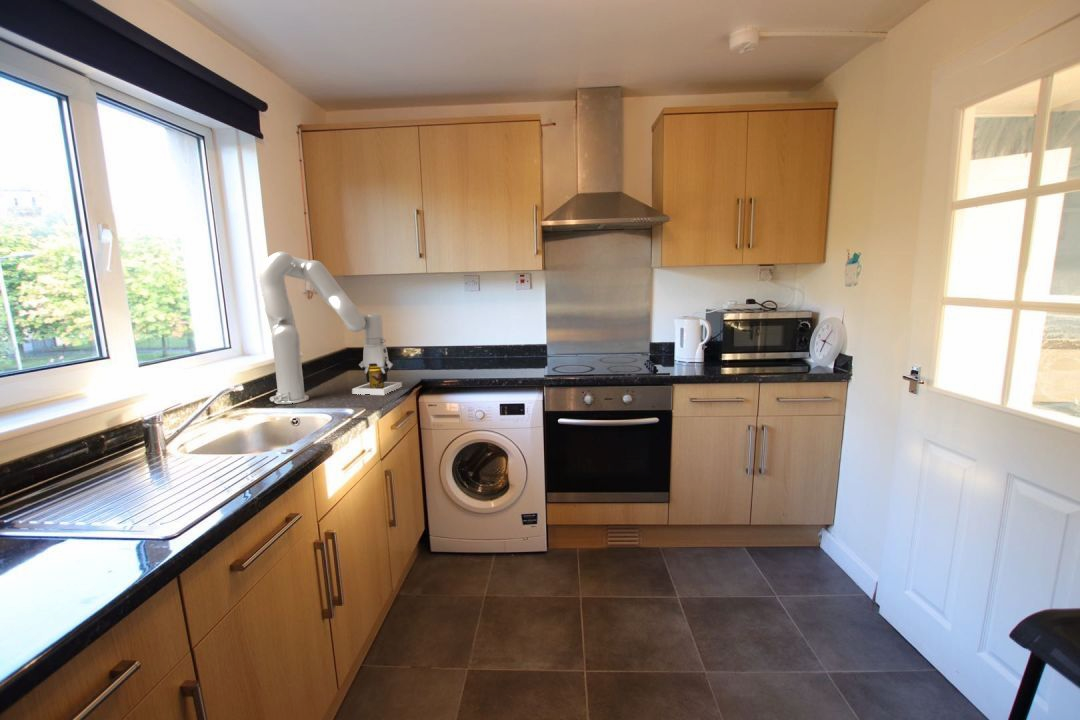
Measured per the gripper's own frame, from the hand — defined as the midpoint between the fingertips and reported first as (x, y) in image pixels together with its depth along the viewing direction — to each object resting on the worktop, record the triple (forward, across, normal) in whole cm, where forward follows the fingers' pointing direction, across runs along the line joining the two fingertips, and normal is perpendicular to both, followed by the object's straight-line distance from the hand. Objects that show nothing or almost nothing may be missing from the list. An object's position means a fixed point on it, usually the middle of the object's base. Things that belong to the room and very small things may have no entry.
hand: (377, 381), depth 206 cm
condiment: (+4, +1, 0) cm, 4 cm away
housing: (+4, 0, 0) cm, 4 cm away
